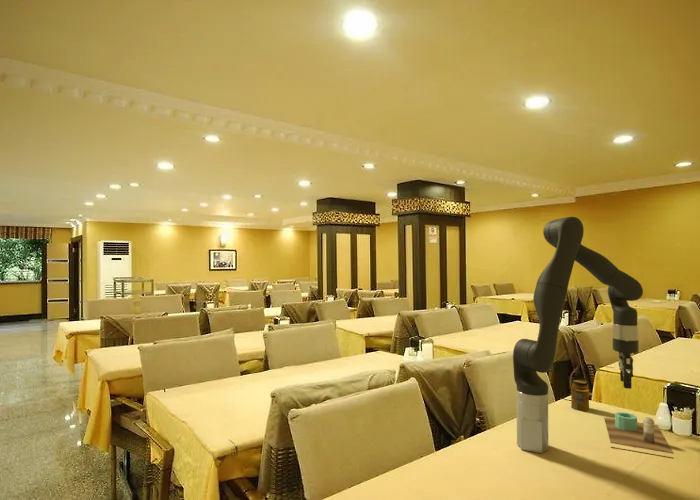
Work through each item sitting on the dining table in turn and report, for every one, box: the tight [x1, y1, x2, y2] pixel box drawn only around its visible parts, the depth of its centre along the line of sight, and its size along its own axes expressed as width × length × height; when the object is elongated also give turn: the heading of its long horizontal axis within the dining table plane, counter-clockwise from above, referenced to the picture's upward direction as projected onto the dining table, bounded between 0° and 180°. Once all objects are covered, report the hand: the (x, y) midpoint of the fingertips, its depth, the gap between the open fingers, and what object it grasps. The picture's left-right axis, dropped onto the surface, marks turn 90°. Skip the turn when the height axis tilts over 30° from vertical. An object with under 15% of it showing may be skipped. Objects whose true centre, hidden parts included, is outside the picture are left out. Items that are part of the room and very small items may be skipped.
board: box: [603, 417, 674, 460], centre depth 140 cm, size 24×16×9 cm, turn 153°
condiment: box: [570, 379, 590, 412], centre depth 163 cm, size 7×8×12 cm
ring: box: [614, 411, 638, 431], centre depth 146 cm, size 6×6×4 cm
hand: (625, 384), depth 146 cm, fingers open, 8 cm apart
